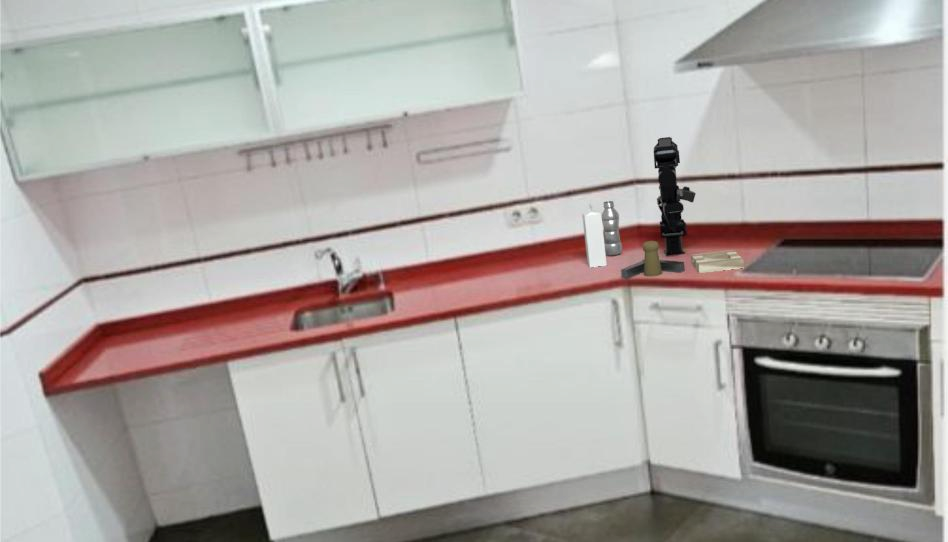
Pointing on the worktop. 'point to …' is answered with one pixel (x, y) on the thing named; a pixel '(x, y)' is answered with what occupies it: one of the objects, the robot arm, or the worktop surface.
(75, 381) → the worktop surface
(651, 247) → the cork
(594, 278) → the worktop surface
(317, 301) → the worktop surface
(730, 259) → the cream wooden slatted block
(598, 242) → the milk
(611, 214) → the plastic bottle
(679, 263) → the v-block
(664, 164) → the robot arm
